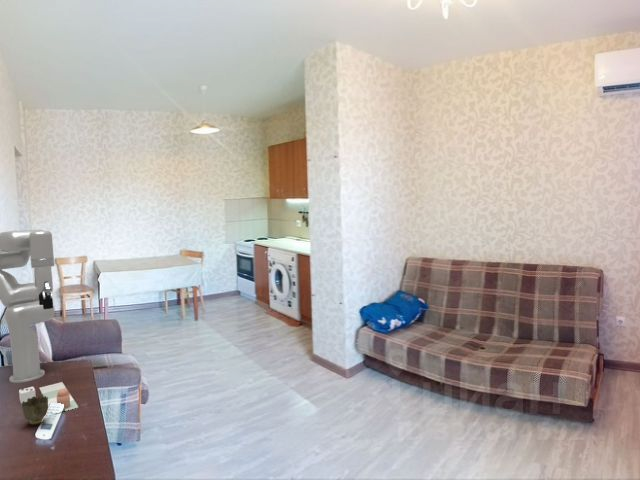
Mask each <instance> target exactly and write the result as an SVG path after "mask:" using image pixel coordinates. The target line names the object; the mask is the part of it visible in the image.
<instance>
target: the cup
mask: <svg viewBox="0 0 640 480" xmlns="http://www.w3.org/2000/svg"><path fill="white" fill-rule="evenodd" d="M21 404H22V405H21ZM20 405H21V408H22V411H23V416H24V418H25V419H26V420H27V421H29V423H30V425H31V426H37V425H40V424H42V423H41V421H42V419H43V420H44V418H45V416H46V415H47V413H48V408H49V406H48V396H47V397H46V396H45V397H44V396H43V395H42V396H40V395H38V396H36V397H35V396H34V397H32V398H31V399H30V398H28V399H27V402H24V401H23V403H21V402H20Z"/></svg>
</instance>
